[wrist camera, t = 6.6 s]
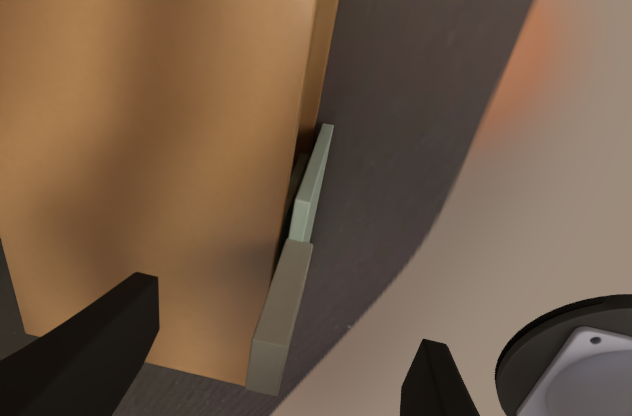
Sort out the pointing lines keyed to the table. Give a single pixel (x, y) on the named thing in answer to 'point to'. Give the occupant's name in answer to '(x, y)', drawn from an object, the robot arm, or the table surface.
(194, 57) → the cabinet
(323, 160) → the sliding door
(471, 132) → the table surface
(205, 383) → the table surface
